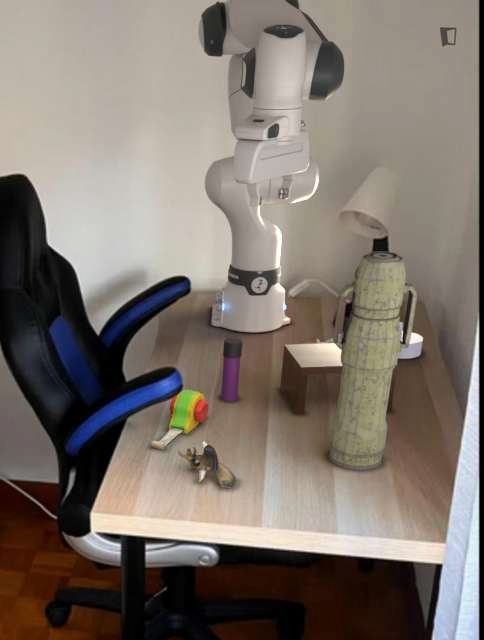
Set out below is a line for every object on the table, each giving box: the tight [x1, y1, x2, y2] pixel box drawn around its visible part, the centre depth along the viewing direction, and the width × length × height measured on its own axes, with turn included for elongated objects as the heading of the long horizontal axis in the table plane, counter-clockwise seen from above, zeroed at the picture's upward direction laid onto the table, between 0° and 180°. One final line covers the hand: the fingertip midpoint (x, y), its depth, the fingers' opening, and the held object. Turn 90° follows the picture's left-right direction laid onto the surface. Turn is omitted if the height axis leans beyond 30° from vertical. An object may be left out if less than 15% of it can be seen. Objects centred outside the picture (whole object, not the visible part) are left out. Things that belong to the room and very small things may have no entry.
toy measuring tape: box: [150, 389, 209, 450], centre depth 178 cm, size 6×20×7 cm, turn 147°
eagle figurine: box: [176, 441, 237, 489], centre depth 161 cm, size 8×7×9 cm
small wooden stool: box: [279, 342, 399, 415], centre depth 188 cm, size 13×18×10 cm
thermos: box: [328, 250, 419, 471], centre depth 159 cm, size 9×12×35 cm
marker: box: [220, 337, 244, 403], centre depth 190 cm, size 4×4×12 cm
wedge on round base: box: [398, 321, 424, 360], centre depth 213 cm, size 9×7×13 cm
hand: (269, 202), depth 183 cm, fingers open, 8 cm apart
